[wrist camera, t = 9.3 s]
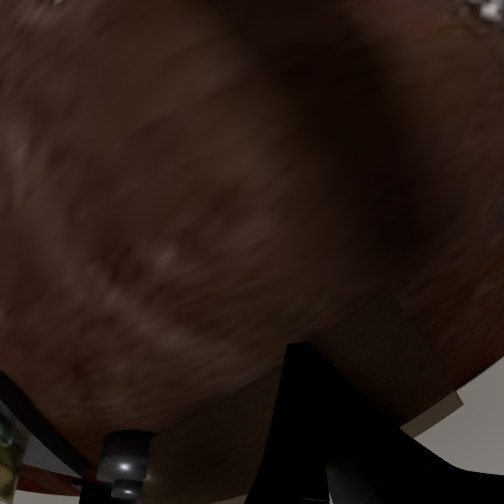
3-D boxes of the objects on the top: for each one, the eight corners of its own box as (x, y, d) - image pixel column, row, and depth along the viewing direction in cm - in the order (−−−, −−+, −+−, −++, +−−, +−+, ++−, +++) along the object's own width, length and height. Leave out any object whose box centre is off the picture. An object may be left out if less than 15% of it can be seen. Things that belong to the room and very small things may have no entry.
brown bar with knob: (153, 469, 18) (149, 530, 13) (91, 443, 16) (79, 508, 11) (415, 326, 12) (470, 415, 8) (364, 257, 10) (440, 369, 6)
